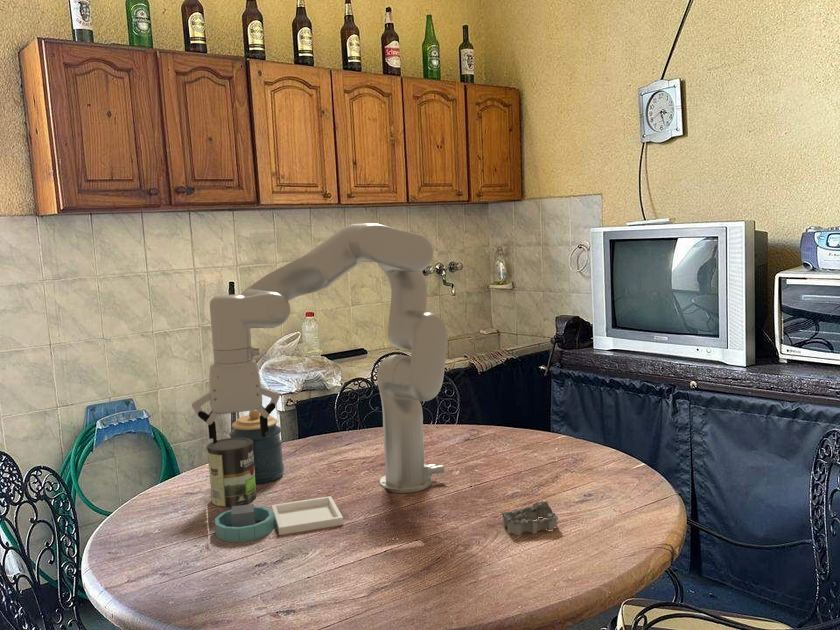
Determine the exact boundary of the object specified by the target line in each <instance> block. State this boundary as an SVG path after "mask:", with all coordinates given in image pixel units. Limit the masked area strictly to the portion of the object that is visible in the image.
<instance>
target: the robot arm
mask: <svg viewBox="0 0 840 630" xmlns="http://www.w3.org/2000/svg"><path fill="white" fill-rule="evenodd" d="M433 249H434V248H433V247H432V244H431V242H430V241H429V239H428V238H427V237H425V236H424V235H422V234H420V233H416V232H411V231H409V230H403V229H400V228H395V227H393V226H389V225H388V226H387V225H384V224H379V223H373V222H372V223H371V222H370V223H369V222H368V223H352V224H349V225H347V226H344V227H343V228H341V229H340V230H338V231H337V232H335V233H334V234H333V235H331V236H330V237H328V238H326V239H325V240H324V241H323V242H322V243H320V244H319V245H317V246H316V247H314V248H313V249H311V250H310V251H309V252H307V253H305V254H304V255H302V256H301V257H299V258H296V259H294V260H292V261H290V262H289V263H287V264H285V265H283V266H280V267H278V268H277V269H275V270H273V271H271V272H269V273H268V274H266V275H264V276H262V278H260V279H259V280H257V281H255V282H254V283H253V284H250V286H248V287H247V288H246V289H244V290H243V291H242V292H241V293H240V294H224V295H223V294H222V295H217V296H214V297H212V298H211V300H210V301H209V316H210V326H211V339H212V340H211V341H212V353H213V363H211V364H210V365H209V374H208V375H209V376H208V380H209V392H208V393H206V394H204V395H203V396H201V397H200V398H198V399H196V400H195V401H194V402H192V403H191V408H192V409H193V411H194V412H195V413H196V415H197V416H198V418H200V419H201V420H202V421H204V422H205V423H206V424H207V427H208V429H207V430H208V438H209V440H211V439H212V442H213V444H215V443H217V440H218V437H217V426H216V425H217V424H216V421H215V420H216V419H217V418H218V416H219V415H224V414H225V415H227V414H235V413H243V412H250V411H253V410H257V411H258V412H259V414H261V415H260V416H259V418H260V432H261V436H262V437H266V436H265V432H268V419H267V417H268V416H269V415H270V414H271V413H272V412H273V411H274V410H275V408H276V406H277V403H278V402H279V400H280V397H281V396H280V394H279V393H278V392H275V391H273V390H270V389H268V388H265V387H263V386H262V385H261V380H260V379H261V378H260V372H259V367H258V363H257V361H256V359H253V358H254V357H255V356H258V355H260V348H255V347H253V346H252V335H251V334H252V333H251V329H274V328H278V327H280V326H282V325H284V324H285V323H286V321H287V320H288V319H289V317H290V314H291V306H290V302H289V301H290V300H293V299H295V298H298V297H300V296H304V295H307V294H313V293H316V292H320V291H323V290H325V289H327V288H329V287H330V286H333V284H334V283H335V282H337V281H338V280H340V279H341V278H342V277H343V276H345V275H347V273H349V272H351V270H353V269H354V268H356V267H357V266H358V265H360V264H362V263H374V264H375V263H376V264H377V265H378V266H379V267H380V268H381V270H383V272H384V273H385V275H386V277H387V278H388V281H389V283H390V290H391V292H390V294H391V296H390V305H389V306H390V307H389V316H388V325H387V338H388V341H389V343H390V344H391V345H392V346H393V347H395V348H397V349H400V350H405V351H410V356H409V355H404V354H392V355H389V356H387V357H385V358H384V359H383V360H382V361H381V363H380V364H379V366H378V368H377V373H376V380H377V385H378V386H377V387H378V391H379V395H380V400H381V406H382V407H381V408H382V427H383V428H382V429H383V450H384V451H383V452H384V453H383V454H384V471H385V472H384V473H385V475H384V476H382V477H381V478H379V482H378V483H379V485H380V487H382V488H383V489H384V490H385V491H387V492H390V493H395V494H407V493H416V492H421V491H423V490H426V489H428V488H429V487H430V486H431V485H432V476H433V475H439V474H440V475H441V474H444V473H445V467H444V465H436V464H435V463H433V464H426V462H425V449H424V448H425V447H424V444H425V443H424V423H423V421H424V415H423V407H422V403H421V402H429V401H431V400H433V399H434V398H436V396H437V395H439V392H440V391H441V388H442V386H443V383H444V376H445V367H446V359H447V350H448V339H449V338H448V337H449V336H448V329H447V326H446V322H445V321H444V320H443V318H442V317H440V316H439V314H436V313H434V312H430V311H427V299H428V298H427V297H428V286H427V282H426V278H425V276H424V274H423V271H424V270H426V269H427V268H429V266H430V265H431V263H432V261H433V257H434V250H433ZM263 396H265V397H268V398H270V401H269V403H268V404H267V405H266V407H264V405H263ZM208 402H209V403H210V407H211V410H210V412H209V413H207V412H206V411H204V410H203V409H202V406H203V405H204V404H207V403H208Z"/></svg>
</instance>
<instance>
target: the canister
mask: <svg viewBox="0 0 840 630" xmlns="http://www.w3.org/2000/svg"><path fill="white" fill-rule="evenodd" d="M248 412H249V413H248V414H247V415H243V416H241V417H239V418H237V420H235V421H234V422H232V423H231V427H232V428H233V429H232V430H231V431H230V432H229V434H228V436H229V438H249V439H251V440H253V455H254V470H255V485H260V484H262V485H263V484H266V483H267V484H268V483H271V482H274V481H276V480H279V479H280V478H281V477H282V476H283V475H284V470H285V467H284V464H285V463H283V462H284V461H283V446H282V445H283V441H282V439H281V432H282V428H281V427H280V426H279V425H277V424H278V419H277V418H275V417H273V416H271V415H270V414H269V416H268V417H267V419H268V432H265V436H266V437H262V436H261V432H260V418H259V416H260V415H261V414H260V413H259V412H258V411H257V410H253V411H248Z"/></svg>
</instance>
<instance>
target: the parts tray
mask: <svg viewBox="0 0 840 630" xmlns="http://www.w3.org/2000/svg"><path fill="white" fill-rule="evenodd" d="M271 510H272V513H273V518H274V522H275V525H276V528H277V531H278V535H279V536H281V535H288V534H294V533H300V532H307V531H312V530H319V529H326V528H331V527H336V526H337V527H338V526H343V525H344V517H343V515H342V513H341V512H340V509H339V508H338V506H337V504H336V503H335V500H334V499H333V497H332V496H331V495H330V496H322V497H316V498H309V499H303V500H295V501H289V502H282V503H276V504H271Z"/></svg>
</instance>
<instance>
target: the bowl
mask: <svg viewBox="0 0 840 630" xmlns="http://www.w3.org/2000/svg"><path fill="white" fill-rule="evenodd" d="M231 510H232V508H231V509H229V510H225V511H223V512H221V513H220V514H219V515H218V516H216V517H215V518H214V524H215V525H214V526H215V536H216V538H217V539H220V540H222V541H224V542H229V543H230V542H234V543H235V542H236V543H240V542H242V543H243V542H248V541H253V540H258V539H260V538H262V537H264V536H268V535H269V534H270V533H271V532H272V531H273V529H275V524H274V522H275V519H274V516H273V513H272V509H271V508H268V507H265V506H259V505H258V506H257V505H254V514H255V521H260V522H258V523H255V524H254V525H250V526H243V527H232V526H229V525H232V520H231Z"/></svg>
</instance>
